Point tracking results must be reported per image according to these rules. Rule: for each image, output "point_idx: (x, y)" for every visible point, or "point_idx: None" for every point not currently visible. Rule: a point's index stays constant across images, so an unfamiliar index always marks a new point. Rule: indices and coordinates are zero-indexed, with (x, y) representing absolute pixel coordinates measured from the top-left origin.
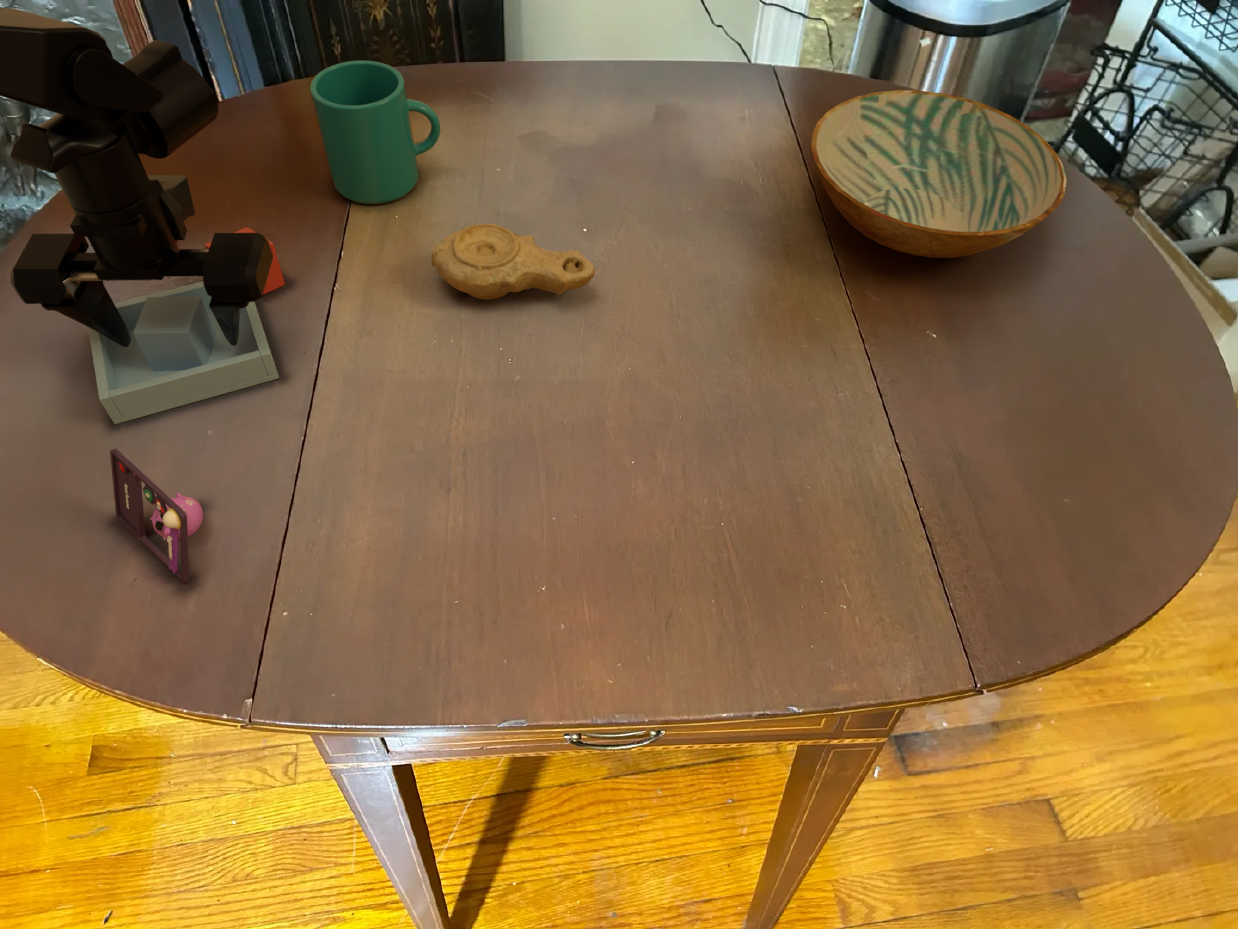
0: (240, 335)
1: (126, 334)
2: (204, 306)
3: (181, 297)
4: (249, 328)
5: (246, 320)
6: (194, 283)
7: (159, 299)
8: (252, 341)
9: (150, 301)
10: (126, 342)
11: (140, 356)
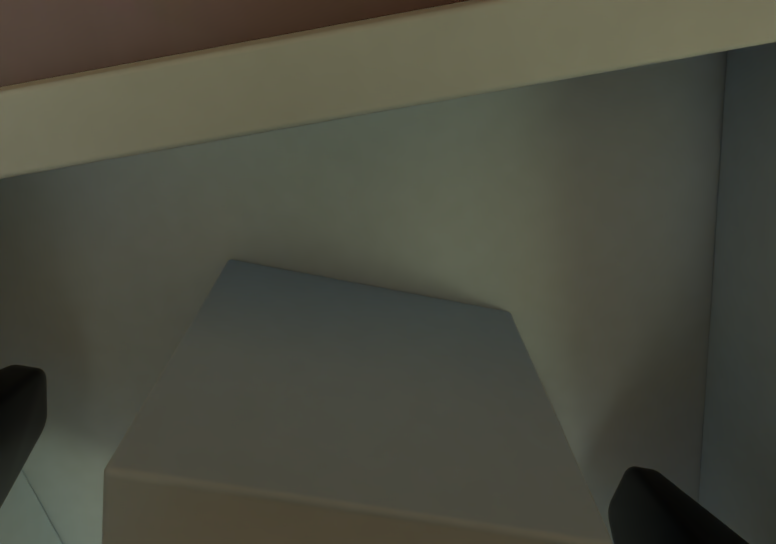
0: (631, 344)
1: (12, 423)
2: (575, 463)
3: (442, 530)
4: (689, 302)
5: (690, 237)
6: (481, 8)
7: (236, 527)
8: (680, 394)
9: (152, 537)
10: (31, 442)
11: (120, 384)
